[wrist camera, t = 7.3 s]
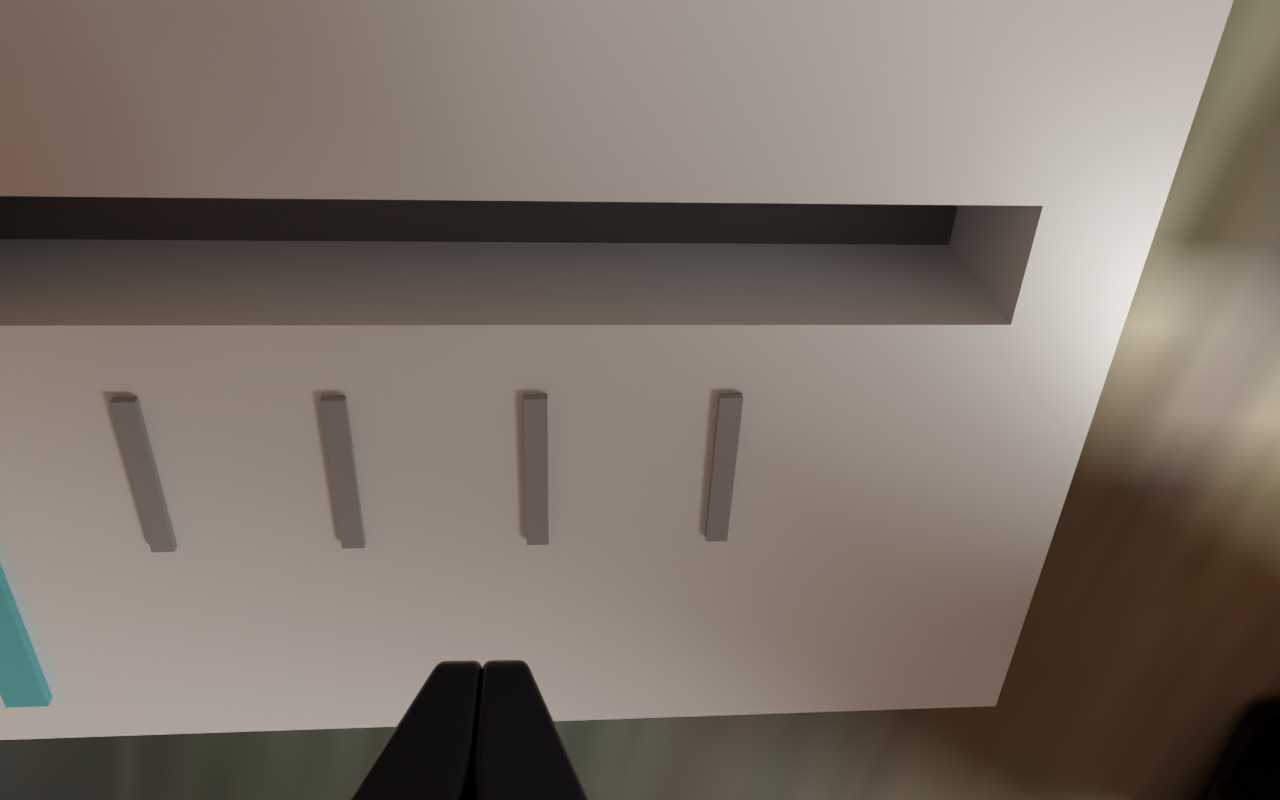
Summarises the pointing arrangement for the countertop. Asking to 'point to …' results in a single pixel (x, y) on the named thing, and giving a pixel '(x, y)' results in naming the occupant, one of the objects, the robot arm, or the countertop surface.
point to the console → (555, 345)
